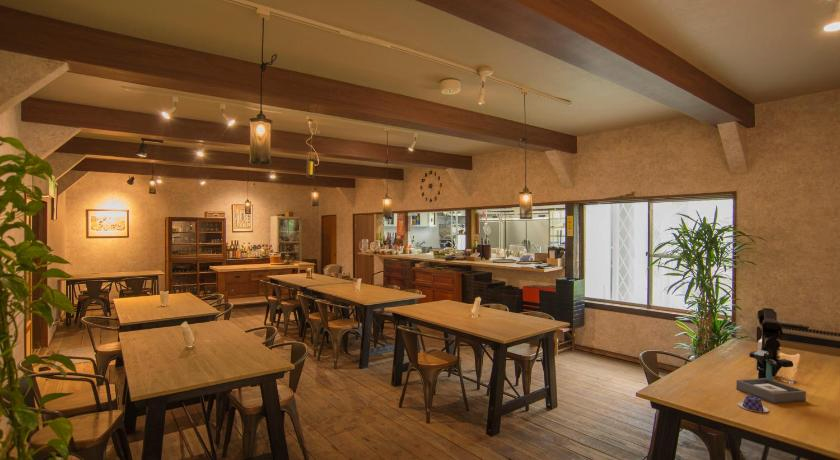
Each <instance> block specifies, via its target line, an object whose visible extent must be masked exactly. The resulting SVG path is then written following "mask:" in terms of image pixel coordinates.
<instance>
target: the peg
mask: <svg viewBox="0 0 840 460" xmlns="http://www.w3.org/2000/svg"><path fill="white" fill-rule="evenodd" d="M773 363H774V362H771V361H766V379H767V380H774V381H775V377H773V376H772V366H771V364H773Z"/></svg>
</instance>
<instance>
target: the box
mask: <svg viewBox="0 0 840 460" xmlns="http://www.w3.org/2000/svg"><path fill="white" fill-rule="evenodd" d="M735 388H736V390H737V391H739V392H741V393H744V394H748V395H749V396H754V397H758V398H760V399H761V401H766V402H767V403H770V404H773V405H777V404H779V405H780V404H790V403H802V402H806V401H807V400H806V399H807V391H806V390H802V389H799V388H798V387H794V386H792V385H791V386H790V385H788V384H785V383H782V382H780V381H776V380H775V379H774V380H767V379H766V378H760V379H758V378H747V379H736V387H735Z"/></svg>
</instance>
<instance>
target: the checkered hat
mask: <svg viewBox="0 0 840 460" xmlns="http://www.w3.org/2000/svg"><path fill="white" fill-rule="evenodd" d="M737 405H738V406H739V407H741V409H744V410H748V411H752V412H753V411H754V410H755V411H754V412H755V413H756V412H757V411H758V412H762V411H763V412H762V413H768V412H769V411H770V410H769V408H767V407H766V406H764V405H763V402H762V399H760V398H758V397H755V396H752V395H746V396H745V397H744V400H743V401H740V402H737ZM742 406H743V407H742ZM749 409H750V410H749ZM764 409H765V411H764ZM758 412H757V413H758Z"/></svg>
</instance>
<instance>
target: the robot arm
mask: <svg viewBox="0 0 840 460" xmlns="http://www.w3.org/2000/svg"><path fill="white" fill-rule="evenodd" d="M777 315H778V314H777V312H776V311H775V309H773V308H767V307H763V308H762V309H760V310H757V313H756V319H757V320H758V323H759V325H760V326H761V336H762V347H761V350H759V351H758V350H757V351H750V352H749V358H753V359H755V360H756V363H755V364H756V365H755V367H756V368H755V369H756V372H757V371H759V373H758V372H757V379H760V378H766V361H771V362H774V363H773V364H771V366H772V376H773V377H774V378H775V377H776V376H777V374H778V372H779V371H780V370H781V368H793V367H794V362H793V361H792V360H790V359H786V358H782V359H780V358H781V357H780V356H779V354H778V353H779V351H780V350H781V348H780V347H781V343H780V341H779V338H782V336H783V335H784V333H783V326H782V325H781V324H780V322H779V321H778V319H777ZM758 367H759V368H758Z"/></svg>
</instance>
